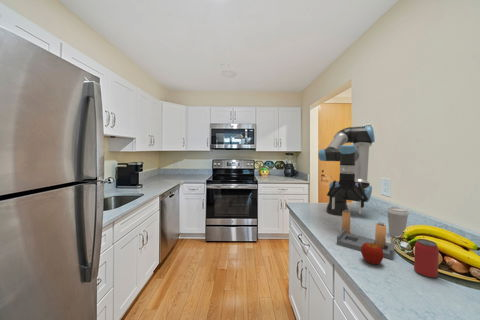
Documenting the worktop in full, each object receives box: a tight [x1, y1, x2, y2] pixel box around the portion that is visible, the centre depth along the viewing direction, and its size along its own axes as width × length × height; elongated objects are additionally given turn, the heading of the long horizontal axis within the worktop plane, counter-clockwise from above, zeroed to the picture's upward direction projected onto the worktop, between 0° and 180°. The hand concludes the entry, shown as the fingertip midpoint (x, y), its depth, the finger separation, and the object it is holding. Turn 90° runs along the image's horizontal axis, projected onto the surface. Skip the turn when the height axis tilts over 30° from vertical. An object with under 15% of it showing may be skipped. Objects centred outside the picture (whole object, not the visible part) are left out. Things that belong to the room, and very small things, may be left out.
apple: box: [360, 243, 384, 265], centre depth 83 cm, size 8×8×8 cm
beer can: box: [413, 238, 440, 279], centre depth 76 cm, size 7×7×12 cm
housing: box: [336, 221, 396, 261], centre depth 97 cm, size 13×22×13 cm, turn 50°
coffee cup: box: [386, 206, 410, 238], centre depth 108 cm, size 10×10×15 cm
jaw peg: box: [341, 210, 351, 234], centre depth 113 cm, size 4×4×13 cm
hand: (346, 210), depth 112 cm, fingers open, 13 cm apart
